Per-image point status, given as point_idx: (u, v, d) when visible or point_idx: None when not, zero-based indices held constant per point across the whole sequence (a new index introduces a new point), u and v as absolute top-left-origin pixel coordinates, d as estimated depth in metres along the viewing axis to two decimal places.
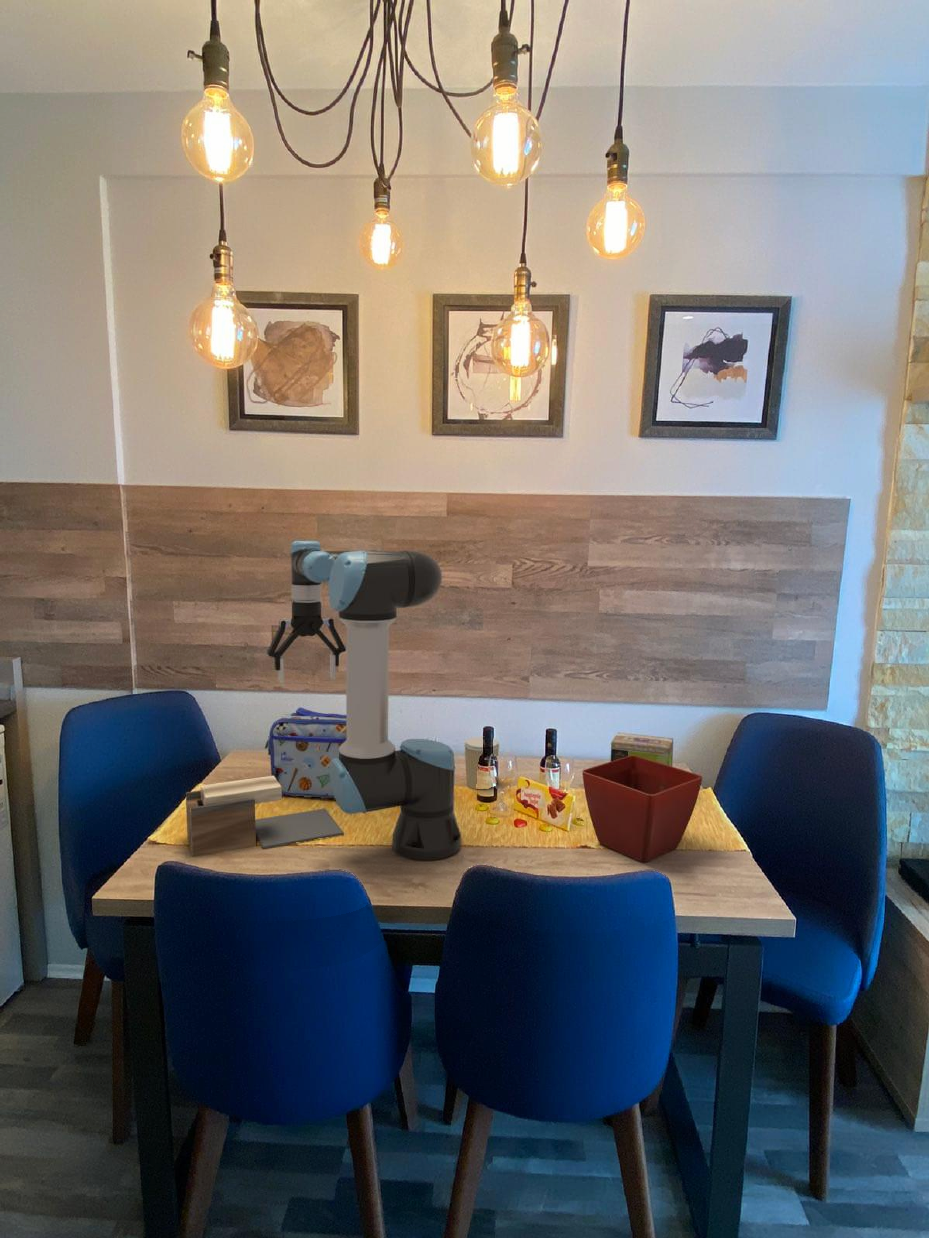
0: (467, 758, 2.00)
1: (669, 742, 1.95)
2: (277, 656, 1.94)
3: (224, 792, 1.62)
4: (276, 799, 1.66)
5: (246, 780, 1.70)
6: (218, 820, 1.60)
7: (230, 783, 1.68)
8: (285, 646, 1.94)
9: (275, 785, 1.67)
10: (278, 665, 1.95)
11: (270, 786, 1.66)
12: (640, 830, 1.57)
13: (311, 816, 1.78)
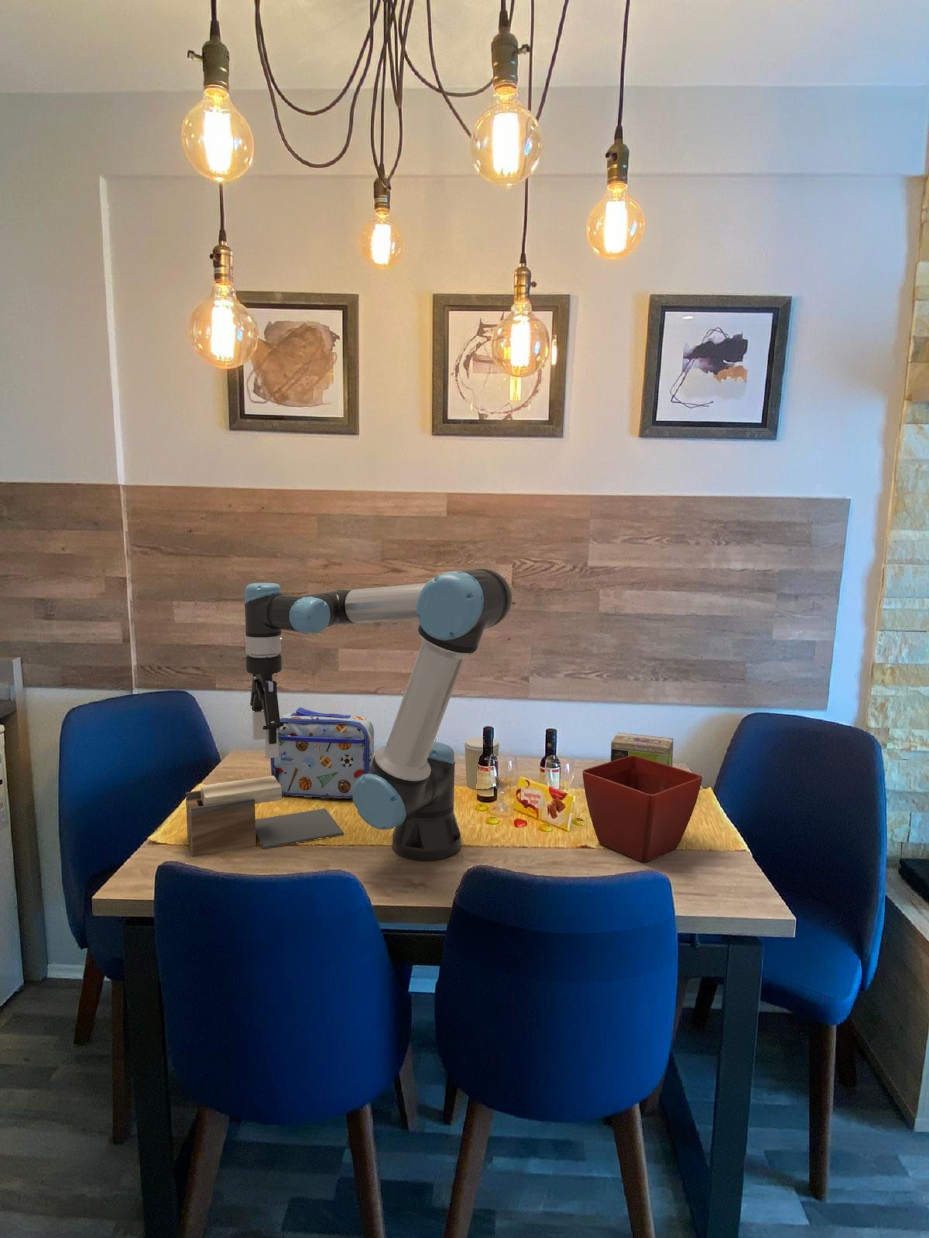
0: (467, 758, 2.00)
1: (669, 742, 1.95)
2: (252, 708, 1.73)
3: (224, 792, 1.62)
4: (276, 799, 1.66)
5: (246, 780, 1.70)
6: (218, 820, 1.60)
7: (230, 783, 1.68)
8: (253, 699, 1.71)
9: (275, 785, 1.67)
10: None
11: (270, 786, 1.66)
12: (641, 830, 1.57)
13: (311, 816, 1.78)
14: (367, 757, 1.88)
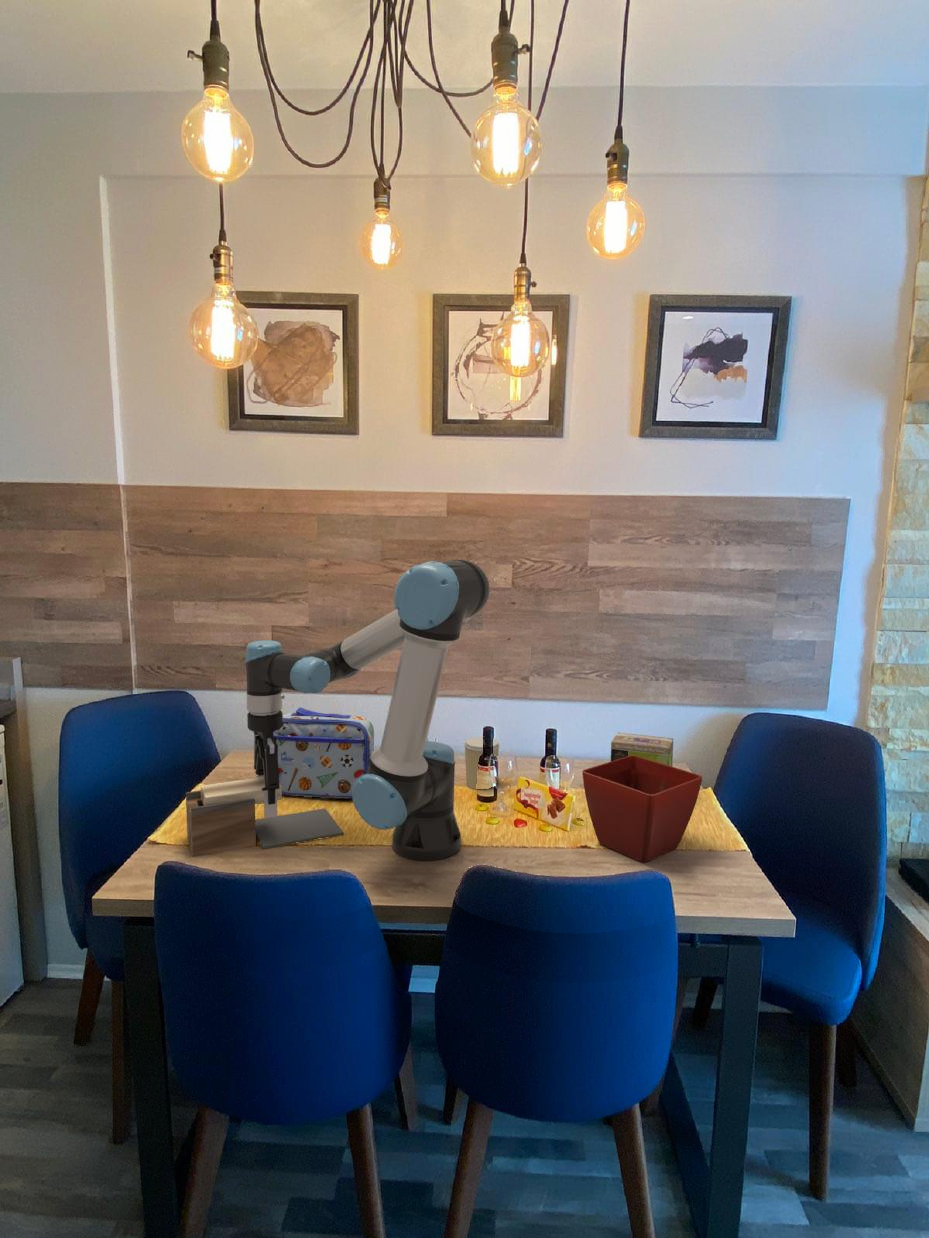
0: (467, 758, 2.00)
1: (669, 742, 1.95)
2: (255, 772, 1.73)
3: (224, 792, 1.62)
4: None
5: (246, 780, 1.70)
6: (218, 820, 1.60)
7: (230, 783, 1.68)
8: (256, 761, 1.71)
9: None
10: None
11: None
12: (640, 830, 1.57)
13: (311, 816, 1.78)
14: (367, 757, 1.88)
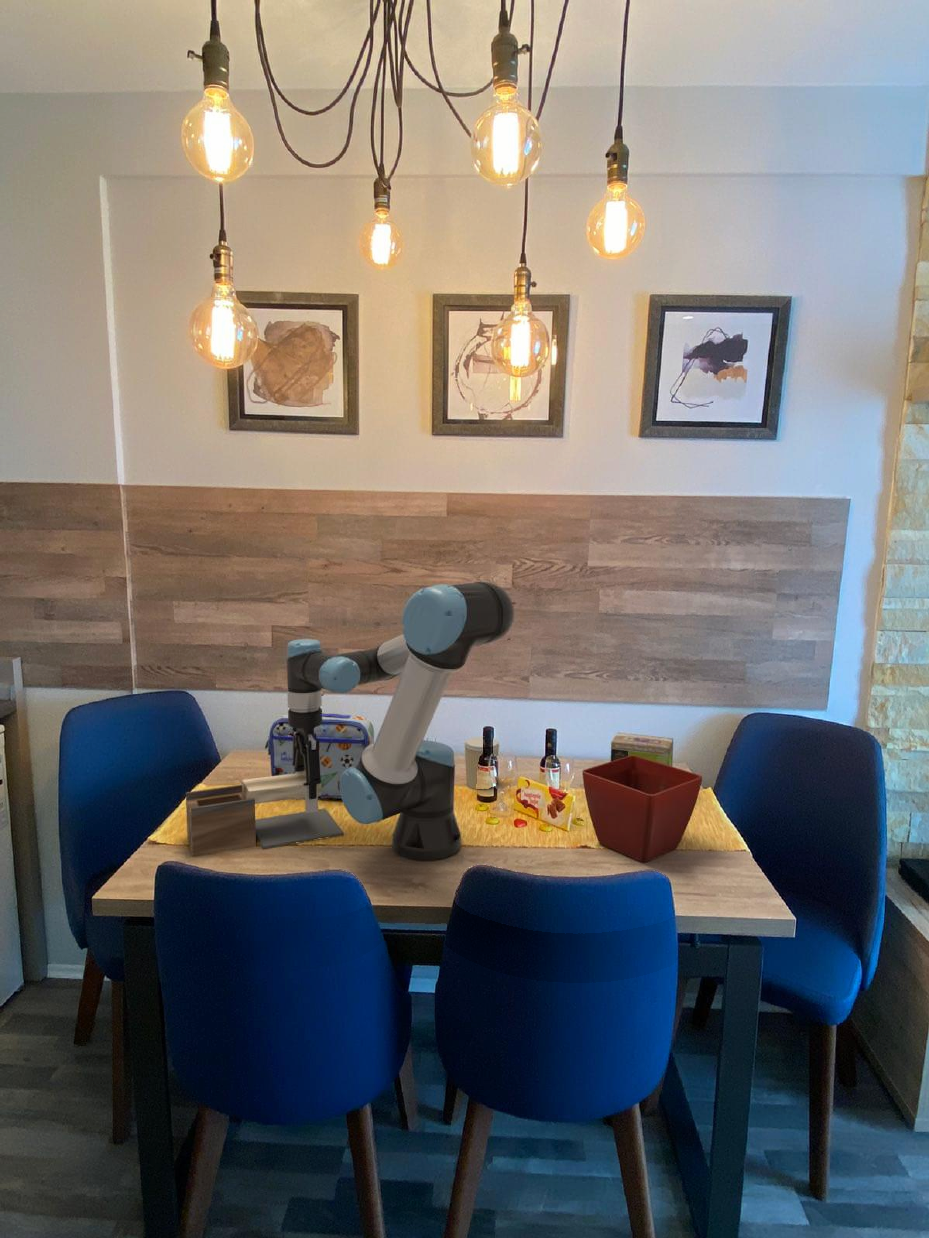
0: (467, 758, 2.00)
1: (669, 742, 1.95)
2: None
3: (267, 786, 1.66)
4: None
5: (286, 775, 1.73)
6: (218, 820, 1.60)
7: (271, 778, 1.71)
8: (296, 757, 1.75)
9: None
10: None
11: None
12: (640, 830, 1.57)
13: (311, 816, 1.78)
14: None
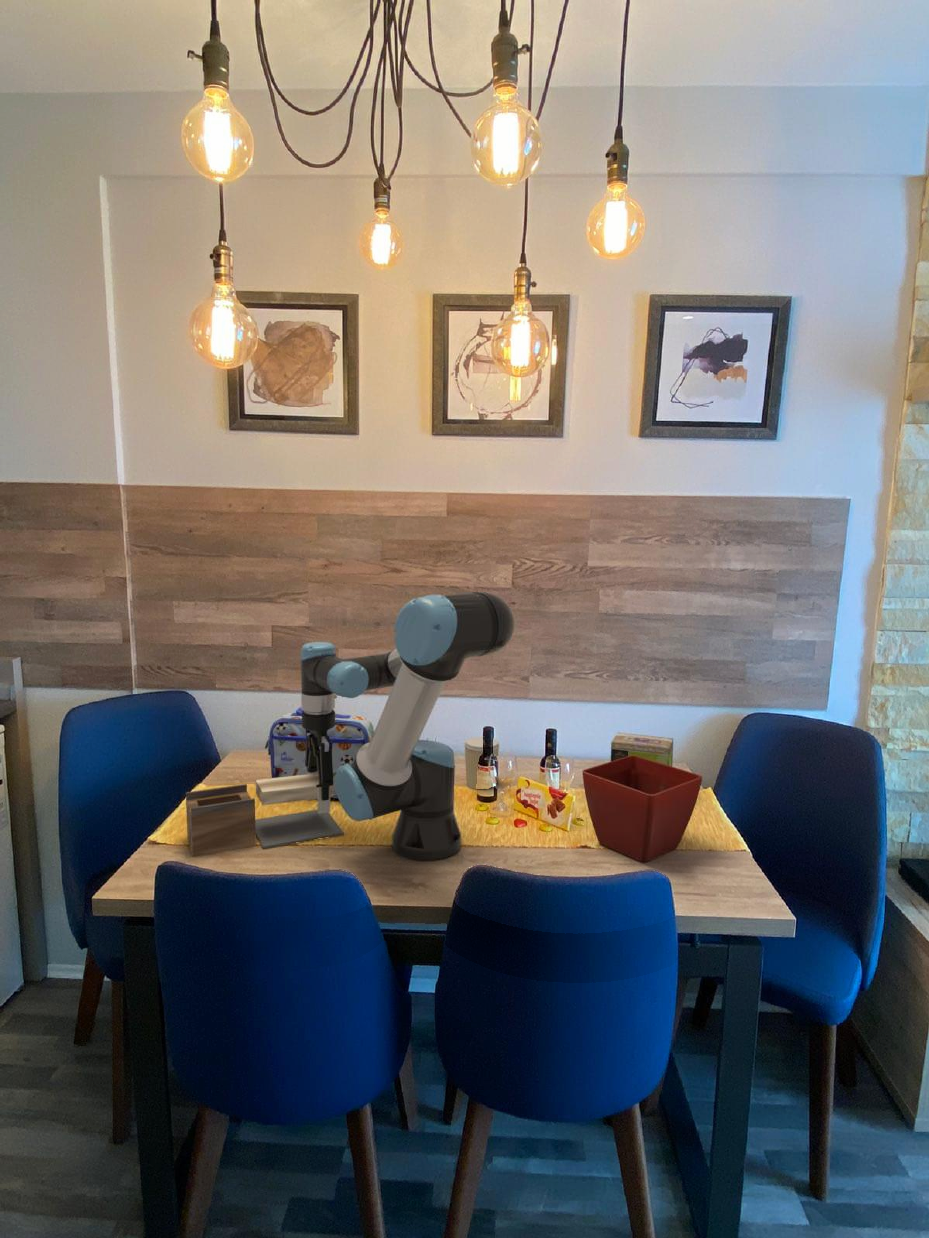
0: (467, 758, 2.00)
1: (669, 742, 1.95)
2: (307, 769, 1.78)
3: (280, 787, 1.68)
4: None
5: (299, 776, 1.75)
6: (218, 820, 1.60)
7: (284, 778, 1.73)
8: (308, 758, 1.77)
9: None
10: None
11: None
12: (640, 830, 1.57)
13: (311, 816, 1.78)
14: None
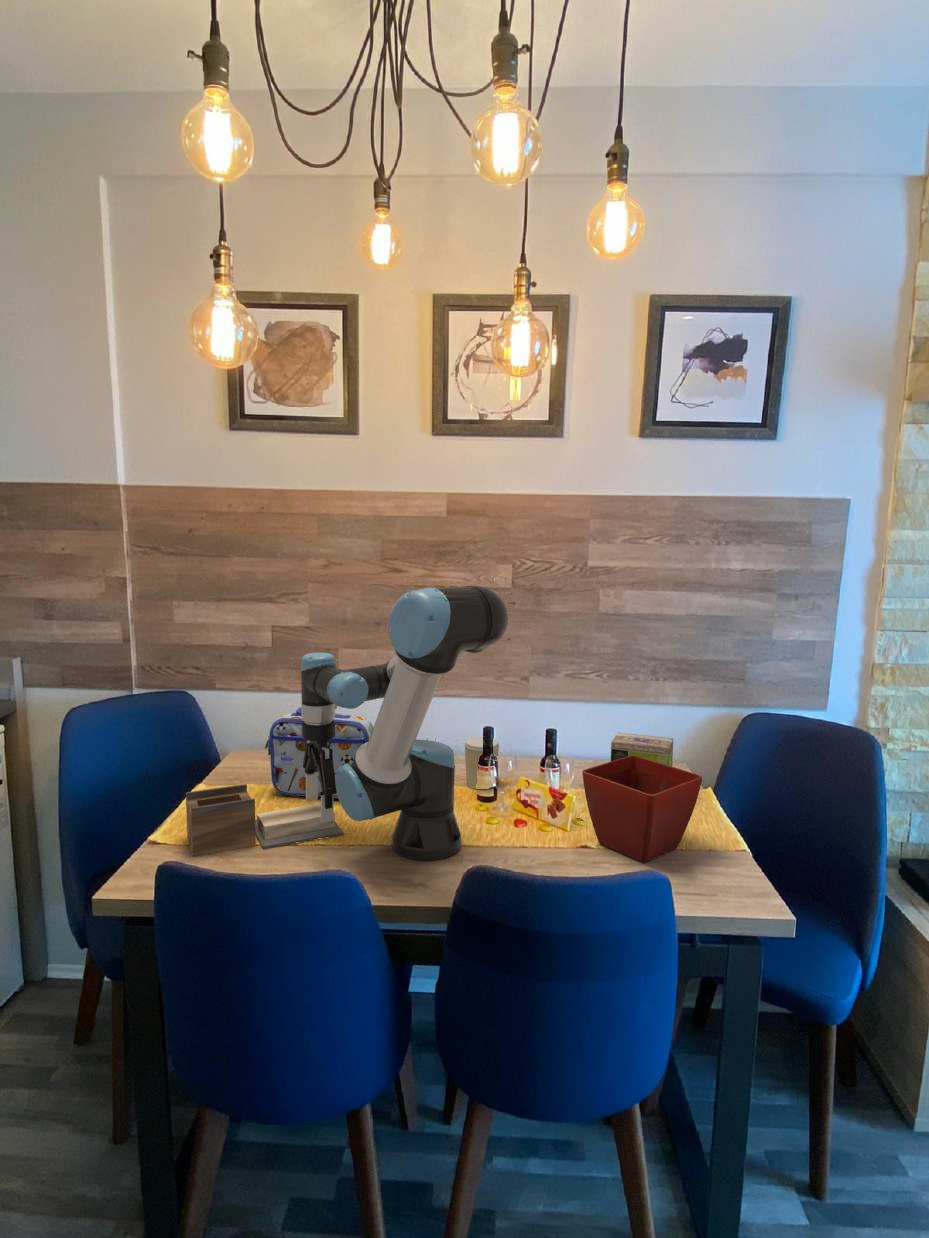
0: (467, 758, 2.00)
1: (669, 742, 1.95)
2: (305, 770, 1.80)
3: (281, 820, 1.69)
4: (330, 826, 1.73)
5: (299, 807, 1.76)
6: (218, 820, 1.60)
7: (285, 811, 1.74)
8: (307, 763, 1.78)
9: None
10: None
11: None
12: (641, 830, 1.57)
13: None
14: None
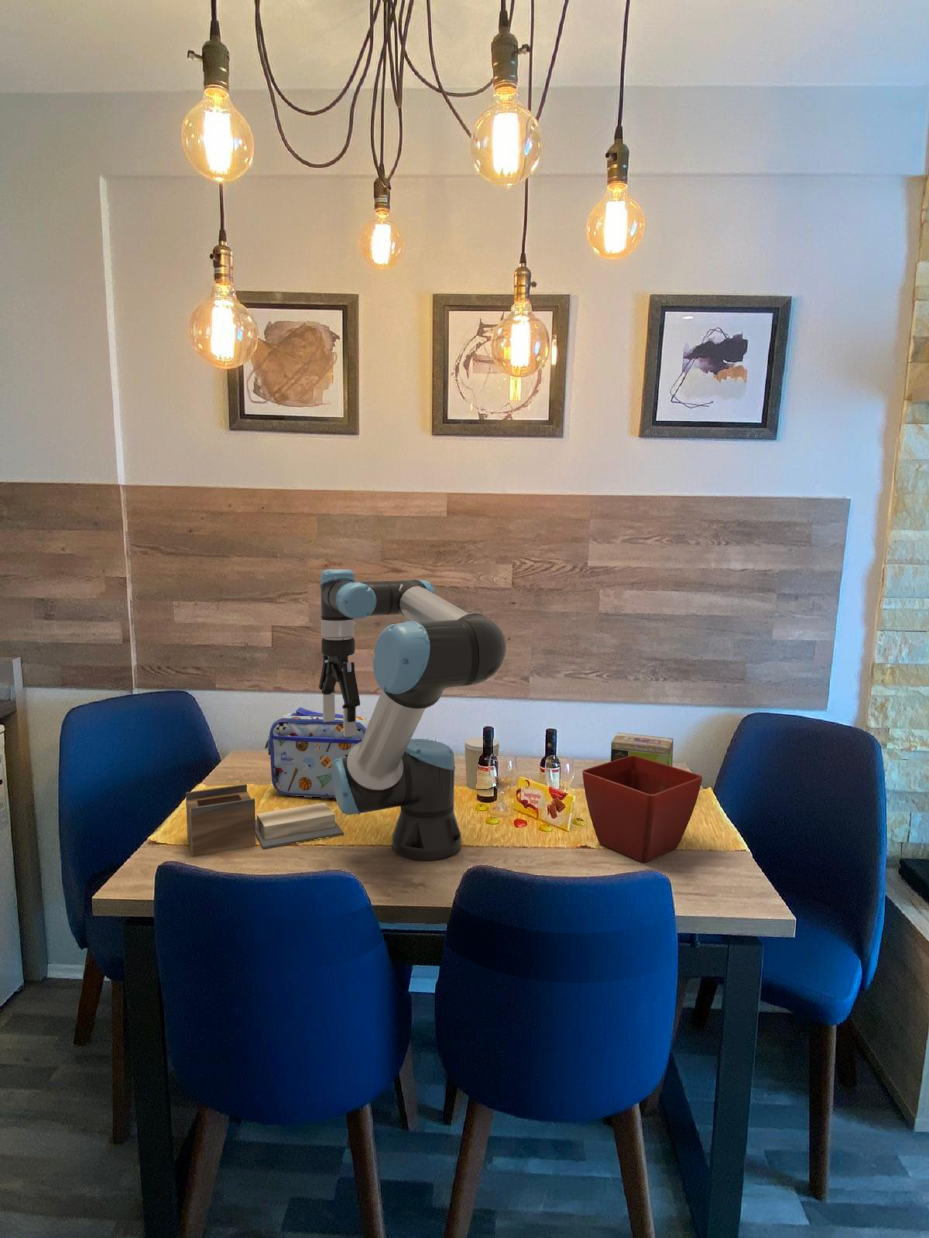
0: (467, 758, 2.00)
1: (669, 742, 1.95)
2: (322, 691, 1.80)
3: (281, 820, 1.69)
4: (330, 826, 1.73)
5: (299, 807, 1.76)
6: (218, 820, 1.60)
7: (285, 811, 1.74)
8: (325, 682, 1.78)
9: (328, 812, 1.73)
10: None
11: (324, 813, 1.73)
12: (641, 830, 1.57)
13: None
14: None
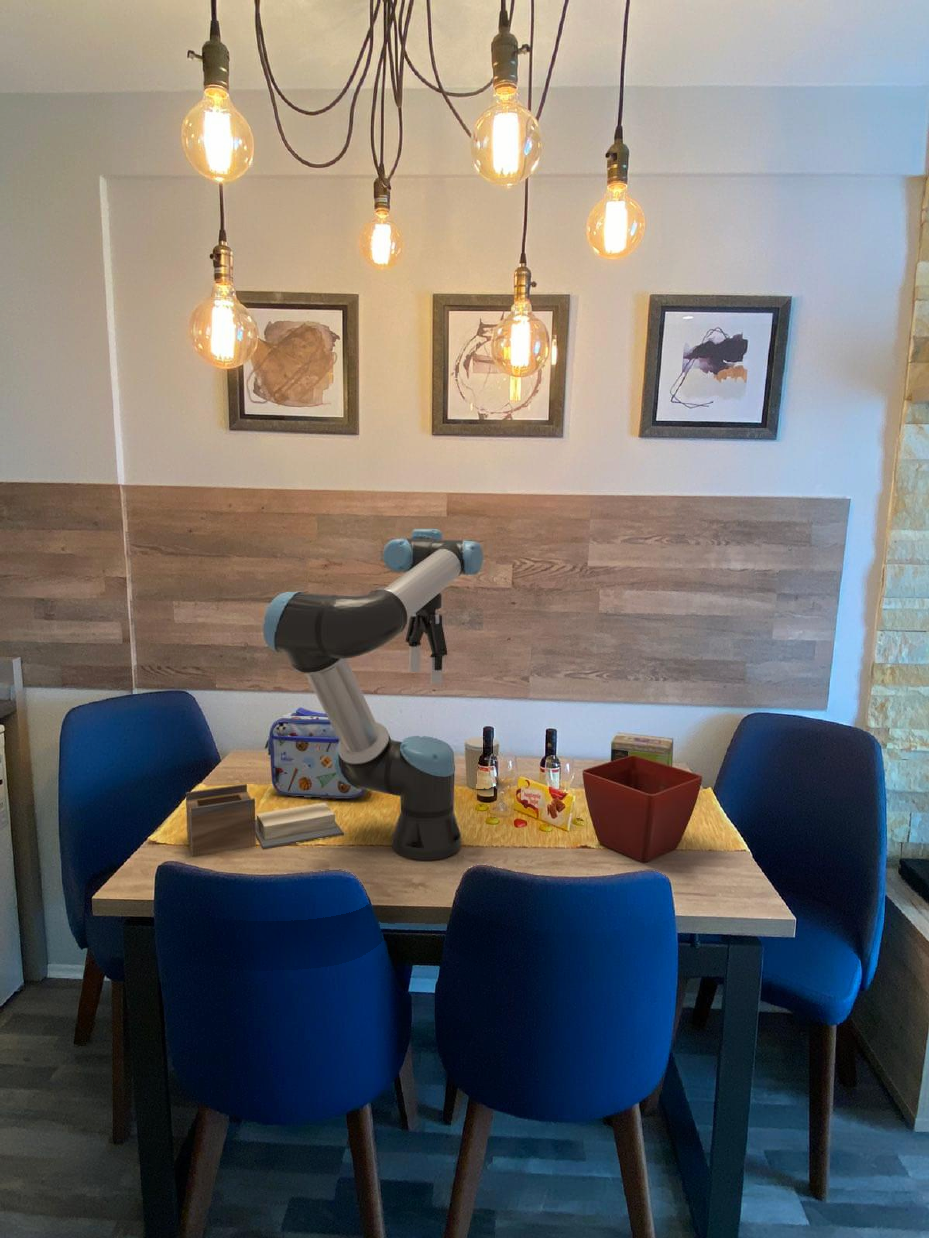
0: (467, 758, 2.00)
1: (669, 742, 1.95)
2: (408, 643, 1.93)
3: (281, 820, 1.69)
4: (330, 826, 1.73)
5: (299, 807, 1.76)
6: (218, 820, 1.60)
7: (285, 811, 1.74)
8: (412, 635, 1.91)
9: (328, 812, 1.73)
10: None
11: (324, 813, 1.73)
12: (641, 830, 1.57)
13: None
14: None
